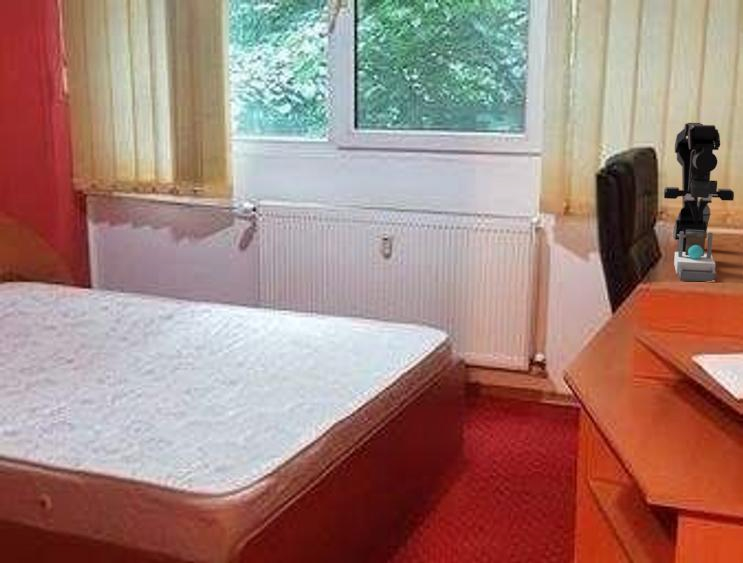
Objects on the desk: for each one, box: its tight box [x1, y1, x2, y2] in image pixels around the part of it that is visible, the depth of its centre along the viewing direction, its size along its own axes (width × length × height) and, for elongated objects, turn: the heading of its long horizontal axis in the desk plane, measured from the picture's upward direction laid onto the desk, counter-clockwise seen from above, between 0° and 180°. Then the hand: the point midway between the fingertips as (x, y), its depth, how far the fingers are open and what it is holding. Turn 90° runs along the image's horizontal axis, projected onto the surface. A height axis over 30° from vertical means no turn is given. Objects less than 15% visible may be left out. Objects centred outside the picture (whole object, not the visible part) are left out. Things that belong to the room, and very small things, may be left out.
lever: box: [685, 229, 708, 256], centre depth 269 cm, size 5×6×7 cm
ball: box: [688, 245, 703, 259], centre depth 265 cm, size 4×4×4 cm
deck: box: [673, 231, 716, 275], centre depth 267 cm, size 17×10×11 cm, turn 165°
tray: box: [678, 266, 717, 282], centre depth 255 cm, size 9×9×2 cm
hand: (696, 223), depth 269 cm, fingers closed
